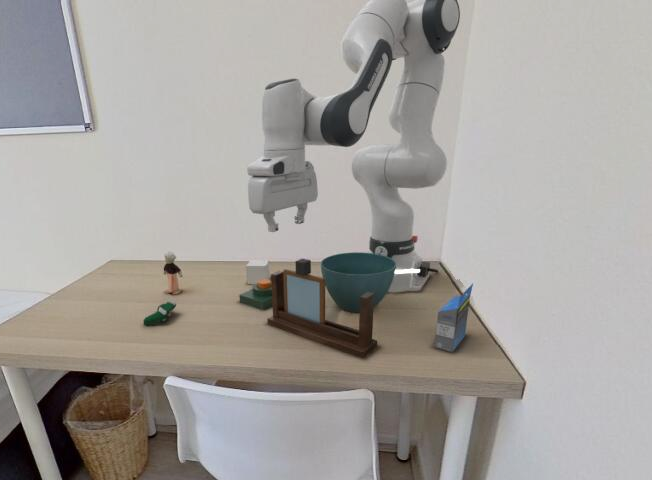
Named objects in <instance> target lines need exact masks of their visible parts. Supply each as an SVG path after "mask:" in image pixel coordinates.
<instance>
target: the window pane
mask: <svg viewBox="0 0 652 480" xmlns="http://www.w3.org/2000/svg"><path fill="white" fill-rule="evenodd" d="M282 272H283V282H284V309H285V312H287V313H291V314H294V315H297V316H300V317H303V318H306V319H309V320H312V321H315V322H318V323H322V324H325V320H326V286H325V278H323V276H318V275H313V274H311V273H312V261H311V259H307V258H300V259H297V260H295V270H291V269H286V268H285V269H283V270H282Z"/></svg>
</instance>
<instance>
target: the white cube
mask: <svg viewBox="0 0 652 480" xmlns="http://www.w3.org/2000/svg"><path fill="white" fill-rule="evenodd" d="M245 267H246V281H247V285H255V284H257V283H258V281H259V280H263V279H267V280H271V273H270V272H271V271H270V270H271V269H270V259H250V260H249V262H248V263H247V264H246V265H245Z"/></svg>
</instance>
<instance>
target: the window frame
mask: <svg viewBox="0 0 652 480" xmlns="http://www.w3.org/2000/svg"><path fill="white" fill-rule="evenodd" d="M270 281H271V286H272V306H271V307H272V315H271V316H269V317H268V318H267V321H266V322H267V325H270V326H273V327H275V328H278V329H280V330H282V331H285V332H288V333H292V334H294V335H297V336H299V337H303V338H304V339H305V338H306V339H308V340H310V341H313V342H316V343H319V344H322V345H324V346H327V347H330V348H332V349H336V350H339V351H341V352H343V353H347V354H350V355H352V356H355V357H358V358H361V359H364V358H366V357H367V356H368V355H369V354H370V353H372V352H373V351H374V350H375V349H376V348H377V347H378V342H379V341H378V340H377V339H374V338H373V332H374V331H373V330H374V328H373V327H374V314H375V313H374V312H375V311H374V310H375V308H374V293H370V292H367V293H365V294H363V295H362V296H360V314H358V315H359V318H358V329H356V328H352V327H349V326H346V325H343V324H341V323H336V322H334V321H330V320H327V319H325V324H322V323H318V322H315V321H312V320H309V319H306V318H303V317H300V316H297V315H294V314H291V313H287V312H285V309H284V282H283V270H278V271H276V272H275V271H274V272H272V273H270Z"/></svg>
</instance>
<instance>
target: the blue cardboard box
mask: <svg viewBox="0 0 652 480" xmlns="http://www.w3.org/2000/svg"><path fill="white" fill-rule="evenodd" d="M473 286H474V283H471V284H470V285H469V287H468V288H467V289H466V290H465V291H463V293H462V294H461V295H457V296H453V297H451V298H450V299H449V300H448V301H447V302H446V303H445V304H444V305H443V307H441V309H440V310H439V311H438V313H437V320H436V329H435V337H434V338H435V339H434V345H433V346H434V349H438V350H441V351H446V352H447V353H453V352H454V351H455V350H456V349H457V347H458V346H459V345H460V343H461V342H462V341H463V339H464V338H465V337H466V333H467V331H466V330H467V322H468V316H469V307H470V301H471V300H470V299H471V294H472V290H473Z"/></svg>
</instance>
